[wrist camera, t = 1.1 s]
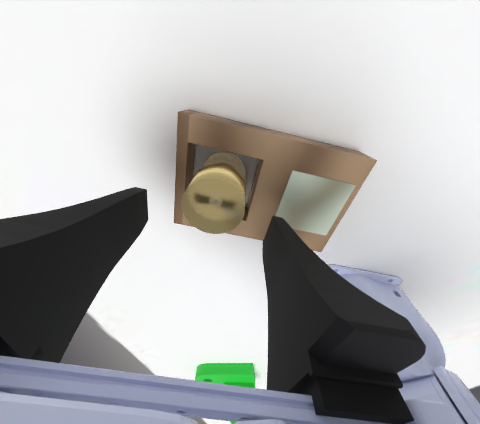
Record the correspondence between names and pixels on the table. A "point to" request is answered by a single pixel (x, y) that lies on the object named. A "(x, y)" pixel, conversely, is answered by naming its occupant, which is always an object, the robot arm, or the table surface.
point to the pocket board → (276, 176)
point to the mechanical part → (227, 374)
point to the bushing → (216, 194)
